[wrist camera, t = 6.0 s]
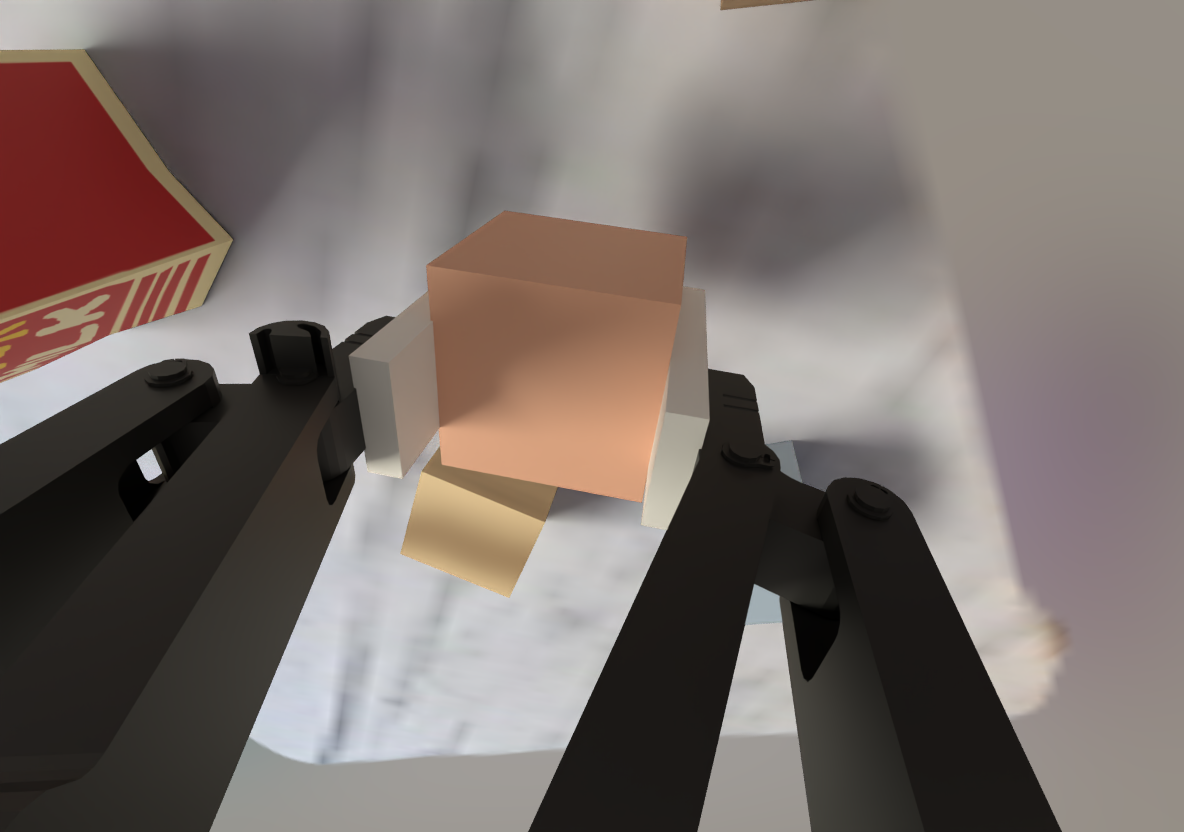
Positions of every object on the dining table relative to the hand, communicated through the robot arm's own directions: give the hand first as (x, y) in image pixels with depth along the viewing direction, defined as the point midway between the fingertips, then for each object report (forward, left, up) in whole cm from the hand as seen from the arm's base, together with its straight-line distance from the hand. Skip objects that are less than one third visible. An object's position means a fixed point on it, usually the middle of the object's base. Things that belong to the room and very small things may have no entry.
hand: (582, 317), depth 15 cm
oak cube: (+10, -4, -5) cm, 12 cm away
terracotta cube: (0, 0, 0) cm, 0 cm away
